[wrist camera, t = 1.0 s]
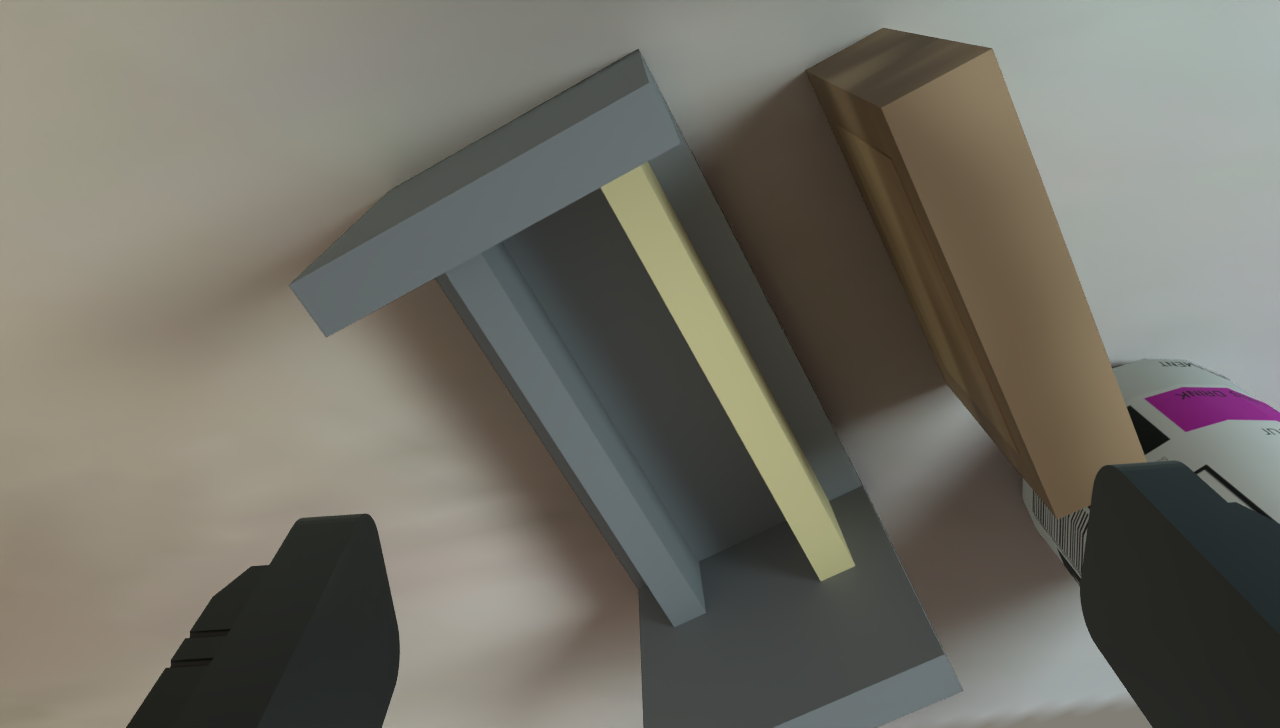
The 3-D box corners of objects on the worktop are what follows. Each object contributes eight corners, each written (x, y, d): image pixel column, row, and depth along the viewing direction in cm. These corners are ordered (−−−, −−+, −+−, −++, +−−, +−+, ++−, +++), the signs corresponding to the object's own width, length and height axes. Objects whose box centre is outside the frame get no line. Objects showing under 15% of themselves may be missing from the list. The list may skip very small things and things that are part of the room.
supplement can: (1205, 310, 32) (1651, 561, 18) (1264, 494, 35) (1690, 832, 21) (982, 414, 34) (1241, 722, 20) (1056, 584, 36) (1329, 958, 22)
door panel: (884, 26, 29) (994, 47, 20) (1017, 349, 33) (1154, 476, 24) (803, 71, 29) (878, 109, 21) (945, 384, 33) (1055, 520, 25)
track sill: (638, 48, 29) (648, 82, 19) (870, 501, 35) (963, 690, 25) (389, 190, 30) (288, 285, 21) (655, 600, 36) (669, 814, 27)
